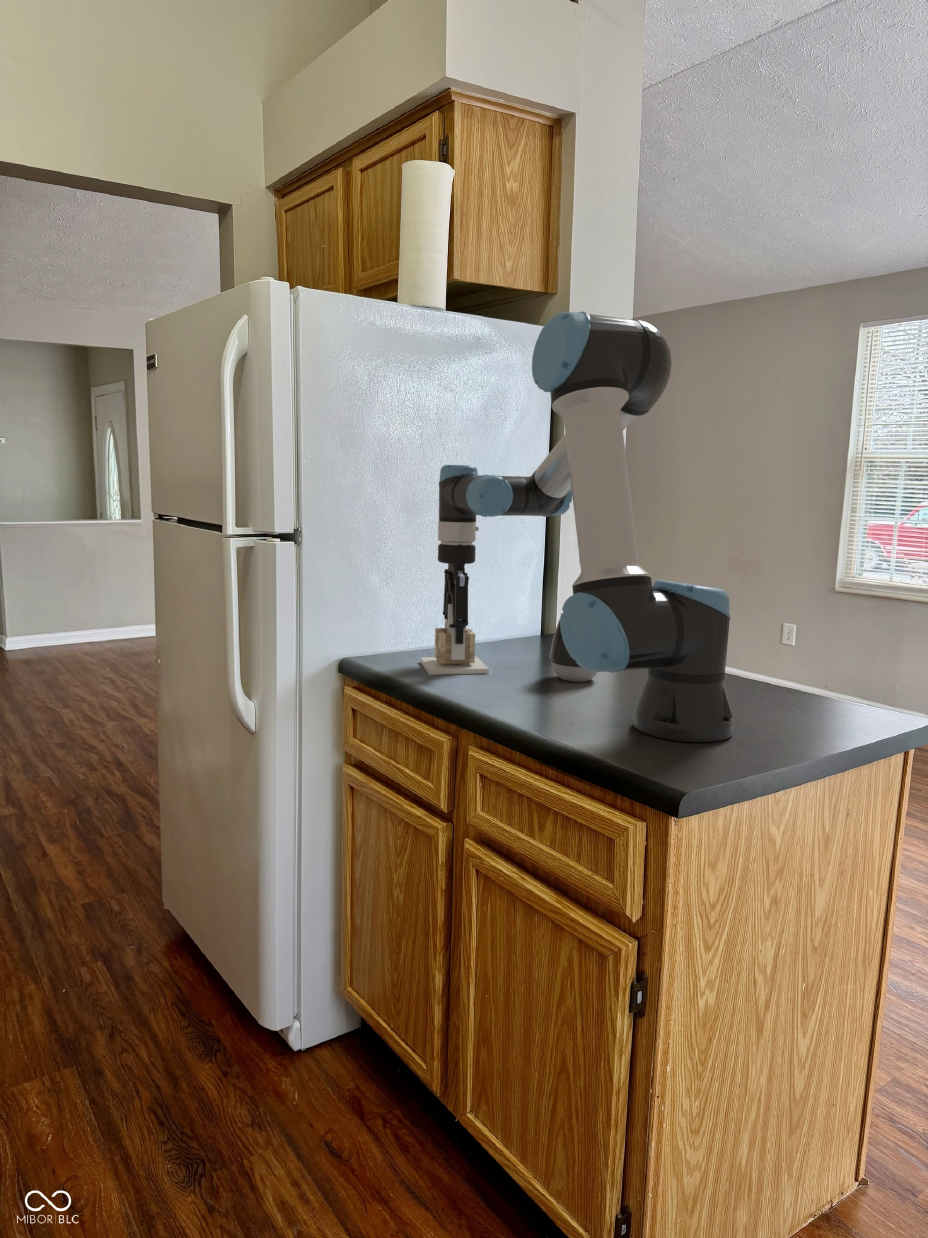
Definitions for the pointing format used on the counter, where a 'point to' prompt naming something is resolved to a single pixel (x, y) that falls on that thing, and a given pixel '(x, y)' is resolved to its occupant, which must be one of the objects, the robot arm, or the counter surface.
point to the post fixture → (455, 668)
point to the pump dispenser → (566, 661)
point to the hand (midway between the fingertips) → (454, 655)
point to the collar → (445, 646)
